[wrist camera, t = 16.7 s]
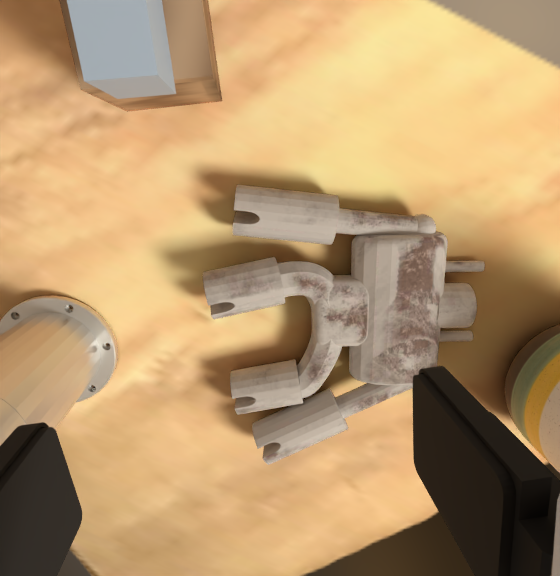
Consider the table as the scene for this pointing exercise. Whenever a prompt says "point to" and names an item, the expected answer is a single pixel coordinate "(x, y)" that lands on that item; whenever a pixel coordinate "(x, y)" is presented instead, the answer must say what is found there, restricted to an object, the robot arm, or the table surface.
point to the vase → (537, 393)
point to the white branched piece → (340, 310)
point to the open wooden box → (172, 58)
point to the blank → (123, 46)
